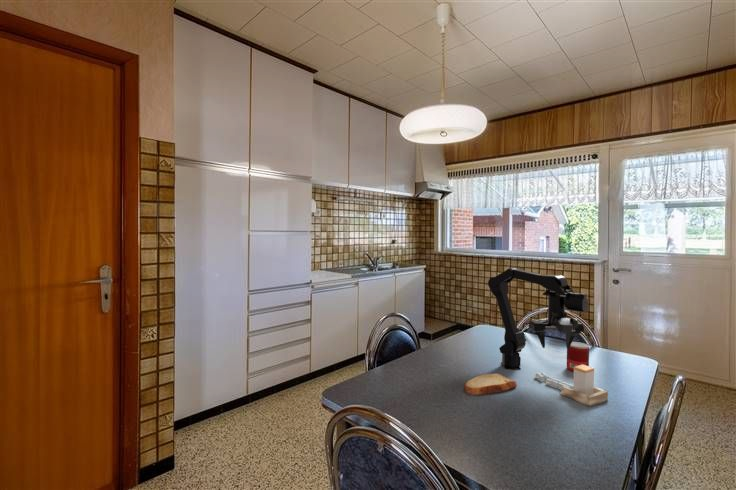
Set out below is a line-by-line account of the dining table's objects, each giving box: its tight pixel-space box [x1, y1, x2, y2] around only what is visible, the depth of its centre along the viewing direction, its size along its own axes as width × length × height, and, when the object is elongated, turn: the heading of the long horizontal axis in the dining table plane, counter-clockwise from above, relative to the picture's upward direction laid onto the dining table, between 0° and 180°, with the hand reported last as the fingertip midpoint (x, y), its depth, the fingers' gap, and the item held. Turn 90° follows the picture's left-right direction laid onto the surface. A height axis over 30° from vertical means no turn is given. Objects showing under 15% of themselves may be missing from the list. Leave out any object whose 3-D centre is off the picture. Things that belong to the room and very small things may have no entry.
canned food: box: [566, 341, 590, 373], centre depth 145 cm, size 8×8×11 cm
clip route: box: [534, 371, 574, 391], centre depth 131 cm, size 6×14×2 cm, turn 21°
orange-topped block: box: [573, 364, 595, 396], centre depth 121 cm, size 4×5×10 cm
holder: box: [559, 386, 609, 408], centre depth 121 cm, size 10×10×3 cm
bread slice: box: [464, 372, 518, 396], centre depth 129 cm, size 18×18×4 cm
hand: (555, 348), depth 134 cm, fingers open, 9 cm apart
